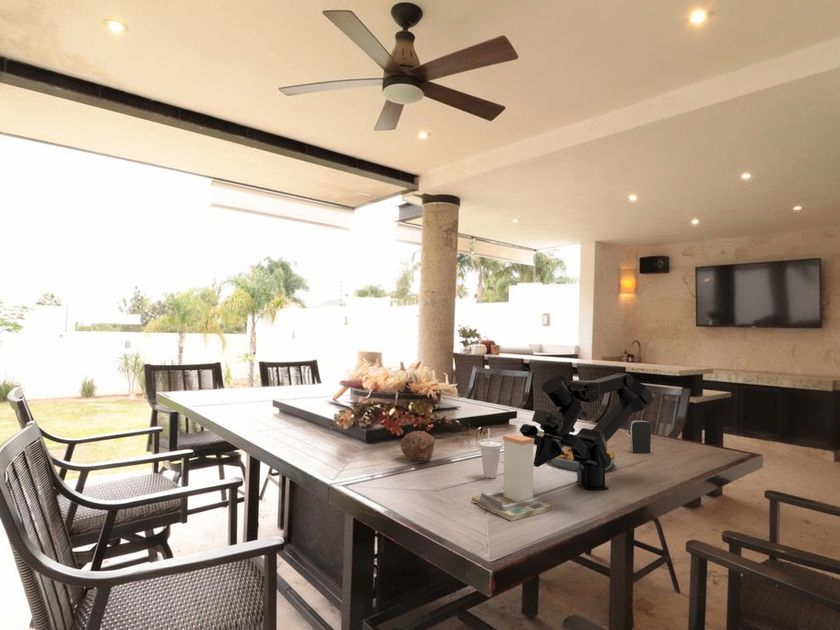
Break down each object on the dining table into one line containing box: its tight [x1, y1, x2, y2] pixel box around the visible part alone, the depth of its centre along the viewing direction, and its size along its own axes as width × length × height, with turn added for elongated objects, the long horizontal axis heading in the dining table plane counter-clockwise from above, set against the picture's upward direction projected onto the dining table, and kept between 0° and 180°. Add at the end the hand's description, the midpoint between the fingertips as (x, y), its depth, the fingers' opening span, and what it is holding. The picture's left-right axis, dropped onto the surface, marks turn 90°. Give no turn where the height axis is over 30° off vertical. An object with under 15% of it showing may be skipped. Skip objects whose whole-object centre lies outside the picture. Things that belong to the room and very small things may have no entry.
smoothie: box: [479, 428, 502, 477], centre depth 139 cm, size 6×6×14 cm
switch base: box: [471, 489, 552, 522], centre depth 115 cm, size 13×14×3 cm
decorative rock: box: [400, 430, 436, 461], centre depth 157 cm, size 13×11×10 cm
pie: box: [550, 447, 617, 471], centre depth 155 cm, size 22×22×5 cm
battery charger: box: [628, 419, 652, 454], centre depth 172 cm, size 7×4×11 cm, turn 91°
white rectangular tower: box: [502, 433, 534, 502], centre depth 116 cm, size 4×6×15 cm
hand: (535, 465), depth 120 cm, fingers closed
